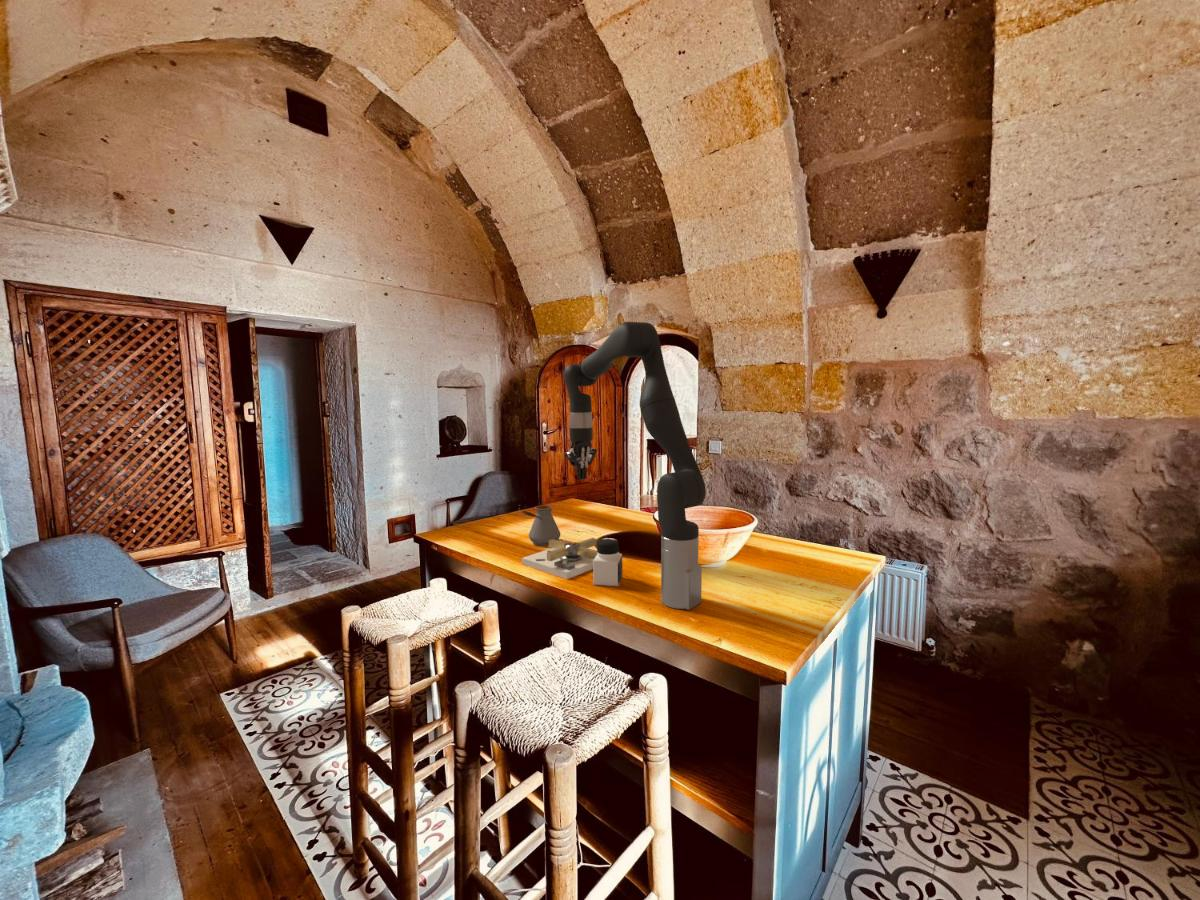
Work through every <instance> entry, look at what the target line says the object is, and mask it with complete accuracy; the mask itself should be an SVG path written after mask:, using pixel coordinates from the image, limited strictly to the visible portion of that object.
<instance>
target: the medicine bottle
mask: <svg viewBox="0 0 1200 900" xmlns="http://www.w3.org/2000/svg"><path fill="white" fill-rule="evenodd" d="M619 547H620V545H619V541H618V540H617V539H615V538H610V537H609V538H608V537H605V538H601V539H599V540H597V541H596V551H597V556H596V557H595V559H594V560H593V569H592V570H593V571H592V573H593V574H592V576H593V577H592V579H593V581H592V582H593V585H594V586H605V587H606V586H608V587H619V586H620V583H621V581H622V579H623V554H622V553H620V552H619Z"/></svg>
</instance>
